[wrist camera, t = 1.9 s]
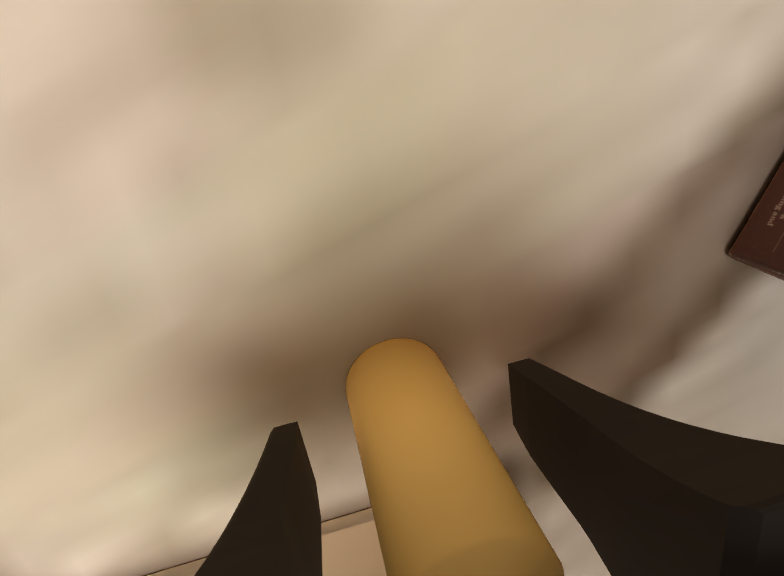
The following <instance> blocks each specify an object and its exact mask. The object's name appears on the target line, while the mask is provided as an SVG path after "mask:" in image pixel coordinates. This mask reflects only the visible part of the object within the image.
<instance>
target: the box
mask: <svg viewBox="0 0 784 576" xmlns="http://www.w3.org/2000/svg"><path fill="white" fill-rule="evenodd" d="M729 255H730V256H731V257H732V258H734V259H735V260H738V261H740V262H743V263H745V264H747V265H749V266H752V267H754V268H757V269H759V270H761V271H763V272H765V273H768V274H770V275H773V276H775V277H777V278H780V279H782V280H784V161H783V162H782V164H781V166H780V167H779V169H778V171H777V172H776V174H775V176H774V178H773V179H772V181H771V183H770V185H769V186H768V188H767V189H766V191H765V193H764V195H763V196H762V198H761V200H760V201H759V203H758V204H757V206H756V208H755V210H754V211H753V213H752V215H751V216H750V218H749V220H748V222H747V224H746V225H745V227H744V228H743V230H742V231H741V233H740V235H739V236H738V238H737V240H736V241H735V243H734V245H733V246H732V247H731V249H730V250H729Z"/></svg>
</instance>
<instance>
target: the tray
mask: <svg viewBox="0 0 784 576" xmlns="http://www.w3.org/2000/svg"><path fill="white" fill-rule="evenodd" d="M321 537H322V576H387V575H386V570H385V566H384V561H383V557H382V552H381V548H380V543H379V539H378V534H377V530H376V525H375V521H374V516H373V512H372V508H369V509H366V510H363V511H360V512H356V513H353V514H350V515H346V516H343V517H340V518H336V519H333V520H330V521H326V522H323V523H321ZM205 560H206V558H203V559H200V560H197V561H193V562H190V563H187V564H183V565H180V566H177V567H173V568H170V569H167V570H163V571H160V572H157V573H153V574H150V575H147V576H194V575H195V574H196V572H197V571H198V569H199V568H200V567H201V565H202V564H203V563H204V561H205Z"/></svg>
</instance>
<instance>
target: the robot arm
mask: <svg viewBox="0 0 784 576" xmlns="http://www.w3.org/2000/svg"><path fill="white" fill-rule="evenodd" d="M508 370H509V381H510V393H511V404H512V416H513V425H514V426H515V428H516V430H517V432H518V434H519V436H520V438H521V440H522V442H523V443H524V445H525V447H526V449H527V451H528V452H529V454H530V456H531V457H532V459H533V460H534V462H535V463H536V464H537V466H538V467H539V469H540V470H541V471H542V473H543V474H544V476H545V477H546V478H547V480H548V481H549V482H550V484H551V485H552V487H553V488H554V489H555V491H556V492H557V493H558V495H559V496H560V498H561V499H562V500H563V502H564V503H565V504H566V506H567V507H568V509H569V510H570V511H571V513H572V514H573V515H574V517H575V518H576V520H577V521H578V522H579V524H580V525H581V527H582V528H583V530H584V531H585V533H586V534H587V536H588V537H589V539H590V540H591V542H592V544H593V545H594V547H595V549H596V550H597V552H598V554H599V555H600V557H601V559H602V561H603V562H604V564H605V566H606V567H607V569H608V571H609V572H610V574H611V576H784V445H781V444H775V443H769V442H764V441H758V440H753V439H748V438H742V437H738V436H733V435H728V434H724V433H719V432H715V431H711V430H708V429H704V428H700V427H696V426H692V425H688V424H685V423H681V422H678V421H674V420H671V419H668V418H665V417H662V416H659V415H656V414H653V413H650V412H647V411H644V410H642V409H639V408H636V407H634V406H631V405H629V404H626V403H624V402H621V401H619V400H616V399H614V398H611V397H609V396H607V395H605V394H602V393H600V392H598V391H596V390H593V389H591V388H589V387H587V386H585V385H583V384H581V383H579V382H577V381H574V380H572V379H570V378H568V377H566V376H564V375H562V374H560V373H558V372H556V371H554V370H552V369H550V368H548V367H546V366H544V365H542V364H540V363H538V362H536V361H534V360H532V359H530V358H528V359H524V360H521V361H517V362H513V363H510V364H508ZM194 576H322V537H321V515H320V508H319V500H318V494H317V487H316V481H315V477H314V474H313V471H312V468H311V464H310V461H309V458H308V455H307V451H306V448H305V445H304V442H303V438H302V435H301V432H300V429H299V425H298V422H293V423H290V424H286V425H282V426H279V427H275V428H273V430H272V431H271V433H270V435H269V438H268V441H267V443H266V446H265V449H264V451H263V454H262V456H261V458H260V461H259V463H258V465H257V468H256V470H255V472H254V474H253V476H252V478H251V481H250V483H249V485H248V487H247V489H246V491H245V493H244V495H243V497H242V499H241V501H240V503H239V505H238V506H237V508H236V510H235V512H234V514H233V516H232V518H231V519H230V521H229V523H228V525H227V526H226V528H225V530H224V531H223V533H222V535H221V536H220V538H219V540H218V541H217V543H216V544H215V546H214V547H213V549H212V551H211V552H210V554H209V555H208V557H207V558H206V560H205V561H204V563H203V564H202V565H201V567H200V568H199V569H198V571H197V572H196V574H195V575H194Z"/></svg>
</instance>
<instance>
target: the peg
mask: <svg viewBox="0 0 784 576" xmlns="http://www.w3.org/2000/svg"><path fill="white" fill-rule="evenodd" d="M346 394H347V399H348V404H349V408H350V413H351V417H352V422H353V426H354V431H355V435H356V440H357V444H358V449H359V453H360V458H361V462H362V467H363V471H364V476H365V480H366V485H367V489H368V494H369V498H370V503H371V507H372V512H373V516H374V521H375V525H376V530H377V534H378V539H379V543H380V548H381V552H382V557H383V561H384V566H385V570H386V575H387V576H564V570H563V567H562V564H561V562H560V560H559V558H558V557H557V555H556V553H555V552H554V550H553V548H552V547H551V545H550V543H549V542H548V540H547V538H546V537H545V535H544V533H543V531H542V530H541V528H540V526H539V525H538V523H537V521H536V520H535V518H534V516H533V515H532V513H531V511H530V510H529V508H528V506H527V505H526V503H525V501H524V500H523V498H522V496H521V495H520V493H519V491H518V490H517V488H516V486H515V485H514V483H513V481H512V480H511V478H510V476H509V475H508V473H507V471H506V470H505V468H504V466H503V465H502V463H501V461H500V460H499V458H498V456H497V454H496V453H495V451H494V449H493V448H492V446H491V444H490V443H489V441H488V439H487V438H486V436H485V434H484V433H483V431H482V429H481V428H480V426H479V424H478V423H477V421H476V419H475V418H474V416H473V414H472V413H471V411H470V409H469V408H468V406H467V404H466V403H465V401H464V399H463V398H462V396H461V394H460V393H459V391H458V389H457V388H456V386H455V384H454V383H453V381H452V379H451V377H450V376H449V374H448V372H447V371H446V369H445V367H444V366H443V364H442V362H441V361H440V359H439V357H438V356H437V354H436V353H435V352H434V351H433V350H432V349H431V348H430V347H428V346H427V345H425V344H423V343H421V342H419V341H416V340H412V339H405V338H398V339H390V340H386V341H383V342H380V343H378V344H375V345H374V346H372V347H370V348H368V349H367V350H366V351H365V352H363V353H362V354H361V355H360V356H359V357H358V358H357V360H356V361H355V362H354V364H353V365H352V367H351V369H350V371H349V373H348V376H347V380H346Z"/></svg>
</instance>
